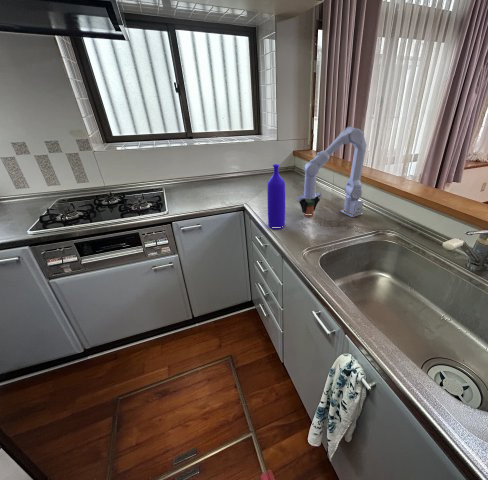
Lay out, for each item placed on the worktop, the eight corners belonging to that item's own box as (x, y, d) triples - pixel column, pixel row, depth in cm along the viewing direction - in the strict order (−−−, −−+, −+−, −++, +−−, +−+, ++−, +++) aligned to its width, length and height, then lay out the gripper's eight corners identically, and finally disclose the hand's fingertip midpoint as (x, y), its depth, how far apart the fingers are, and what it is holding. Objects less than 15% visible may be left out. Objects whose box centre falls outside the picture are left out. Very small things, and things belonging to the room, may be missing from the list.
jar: (315, 215, 144) (316, 202, 140) (309, 218, 140) (309, 204, 137) (307, 212, 147) (308, 199, 143) (301, 215, 144) (302, 201, 140)
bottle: (275, 221, 136) (275, 161, 122) (288, 226, 132) (289, 164, 117) (264, 226, 131) (262, 165, 116) (277, 231, 126) (276, 168, 111)
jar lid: (301, 203, 141) (301, 200, 140) (310, 201, 144) (310, 198, 143) (307, 206, 137) (307, 203, 136) (316, 204, 140) (317, 201, 139)
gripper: (302, 191, 130) (301, 216, 136) (325, 187, 137) (323, 211, 143) (294, 187, 135) (293, 212, 141) (317, 183, 142) (315, 207, 148)
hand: (308, 211), depth 143 cm, fingers closed on jar lid, 5 cm apart
